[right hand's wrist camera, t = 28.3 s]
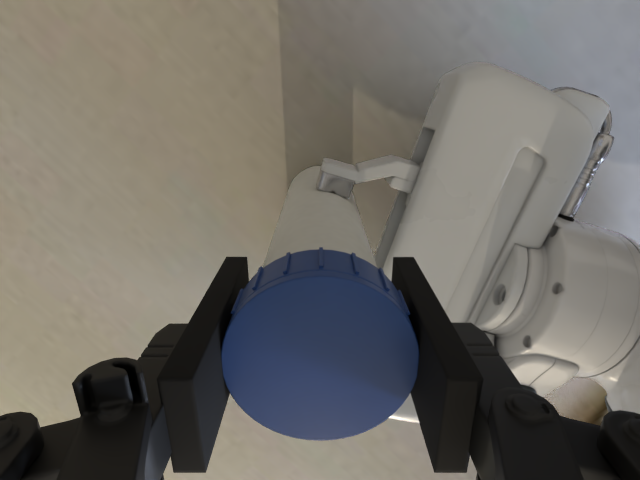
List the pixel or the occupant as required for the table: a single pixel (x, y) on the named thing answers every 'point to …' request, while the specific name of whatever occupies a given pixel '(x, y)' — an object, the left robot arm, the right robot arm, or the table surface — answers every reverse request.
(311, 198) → the white bottle
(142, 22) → the table surface
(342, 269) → the lid
